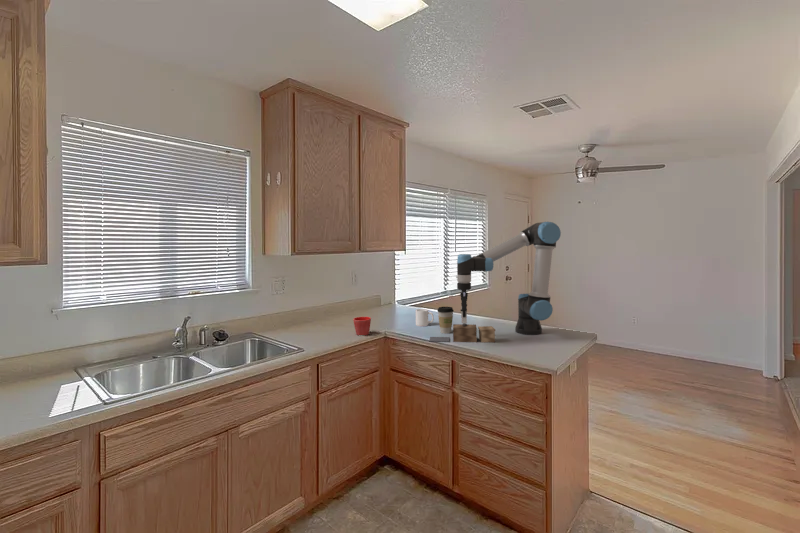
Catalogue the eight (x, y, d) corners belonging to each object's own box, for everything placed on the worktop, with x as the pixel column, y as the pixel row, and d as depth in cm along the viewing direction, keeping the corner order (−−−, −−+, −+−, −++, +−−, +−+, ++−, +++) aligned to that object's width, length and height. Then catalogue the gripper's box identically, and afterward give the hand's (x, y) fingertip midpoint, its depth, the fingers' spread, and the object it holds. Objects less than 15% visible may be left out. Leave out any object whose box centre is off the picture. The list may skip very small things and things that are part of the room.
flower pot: (354, 337, 225) (354, 320, 225) (353, 332, 236) (352, 317, 235) (372, 335, 227) (372, 319, 227) (370, 331, 238) (369, 316, 237)
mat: (449, 337, 218) (449, 337, 218) (449, 342, 210) (449, 341, 210) (430, 337, 220) (430, 336, 220) (429, 341, 211) (429, 341, 211)
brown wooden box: (475, 338, 216) (475, 322, 215) (476, 342, 208) (476, 325, 207) (453, 338, 217) (453, 322, 217) (453, 341, 210) (453, 325, 209)
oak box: (491, 338, 215) (491, 326, 214) (495, 342, 207) (495, 329, 207) (478, 338, 215) (478, 326, 214) (481, 342, 207) (481, 329, 207)
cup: (417, 323, 257) (417, 308, 256) (435, 324, 253) (434, 309, 252) (414, 326, 249) (414, 311, 248) (432, 327, 245) (432, 311, 244)
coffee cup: (453, 334, 225) (453, 309, 224) (436, 334, 227) (436, 309, 226) (454, 330, 235) (454, 306, 234) (438, 330, 237) (438, 306, 236)
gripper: (457, 279, 223) (457, 315, 225) (457, 285, 199) (457, 325, 200) (470, 279, 222) (470, 315, 224) (471, 285, 198) (471, 325, 199)
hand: (463, 320), depth 212 cm, fingers open, 13 cm apart
